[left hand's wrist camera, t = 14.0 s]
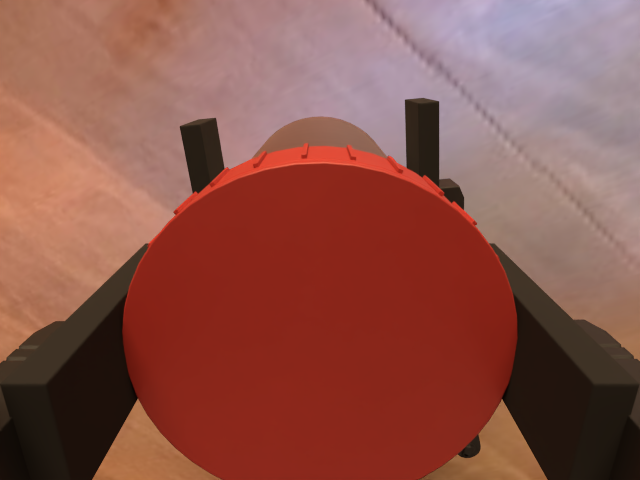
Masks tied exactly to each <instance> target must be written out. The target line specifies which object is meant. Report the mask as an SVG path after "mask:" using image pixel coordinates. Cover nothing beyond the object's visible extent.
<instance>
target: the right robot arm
mask: <svg viewBox="0 0 640 480" xmlns="http://www.w3.org/2000/svg"><path fill="white" fill-rule="evenodd" d="M405 119H406V158H407V169H409V170H411V171H413V172H415V173H416V174H418V175H419V176H421V177H422V178H423V176H424V175H425V176H427V177H428V178H429V179H430V180H431V181H432V182H433V183H434V184H436V185H437V186H438V187H439V188H440V189H441V190H442V191H443V192H444V193H445V194H444V195H443V196H445V197H446V198H447V199H448V200H449V201H450V202H451V203H453V202H455V203H456V204H457V205H459V206H460V207H461V208H462V209H463V210H464V197H463V194H462V192H461V189H460V187H459V186H458V185H457V184H456V183H455V182H453V181H452V180H451V179H440V180H439V101H435V100H430V99H425V98H418V99H407V100H405ZM180 130H181V135H182V140H183V145H184V150H185V156H186V161H187V166H188V171H189V176H190V181H191V186H192V191H193V193H194V192H195V191H196V192H197V193H198V194H199V193H200V192H201V191H202V190H203V189H204V188H205V187H206V186H208V185H209V184H210V183H211V182H212V181H213V180H214V179H215V178H216V177H217V176H218V175H219V174H220V173H221V172H222V171H223V170H224V163H223V157H222V151H221V145H220V139H219V133H218V127H217V121H216V118H210V119H199V120H196V121H193V122H190V123H188V124H185V125H182V126H180ZM479 451H480V441H479V436H478V435H477V436H476V437H475V438H474V439H473V440H472V441H471V442H470V443H469V444H468V445H467V446H466V447H465V448H464V449H463V450H462V451H461V452H460V453H458V455H459V456H461V457H464V458H471V457H473V456H475V455H477V454H478V453H479Z"/></svg>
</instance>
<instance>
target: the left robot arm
mask: <svg viewBox="0 0 640 480" xmlns="http://www.w3.org/2000/svg"><path fill="white" fill-rule="evenodd" d="M147 246H148V244H145V245H144V246H143V247H142V248H141V249H139V250H138V251H137V252H136V253H135V254H134V255H133V256H132V257H131V258H130V259H129V260H128V261H127V262H126V263H125V264H124V265H123V266H122V267H121V268H120V269H119V270H118V271H117V272H116V273H115V274H114V275H113V276H111V277H110V278H109V279H108V280H107V281H106V282H105V283H104V284H103V285H102V286H101V287H100V288H99V289H98V290H97V291H96V292H95V293H94V294H93V295H92V296H91V297H90V298H89V299H88V300H87V301H86V302H84V303H83V304H82V305H81V306H80V307H79V308H78V309H77V310H76V311H75V312H74V313H73V314H72V315H71V316H70V317H69V318H68V319H67V320H66V321H55V322H53V323H52V324H50V325H48V326H46V327H44V328H42V329H41V330H39V331H37V332H35V333H34V334H32V335H31V336H30V337H29V338H28V339H27V340H26V341H25V342H24V343H22V344H21V345H20V346H19V349H16V350H15V351H14V352H12V353H11V354H10V355H9V356H8V357H7V360H6V361H2V362H1V363H0V480H92V479H93V477H94V475H95V473H96V472H97V470H98V468H99V466H100V465H101V463H102V461H103V459H104V457H105V456H106V454H107V452H108V450H109V449H110V447H111V445H112V443H113V441H114V440H115V438H116V436H117V434H118V433H119V431H120V429H121V427H122V426H123V424H124V422H125V420H126V418H127V417H128V415H129V413H130V411H131V410H132V408H133V406H134V404H135V402H136V401H137V399H138V397H137V395H136V393H135V390H134V388H133V385H132V382H131V380H130V377H129V374H128V368H127V363H126V358H125V352H124V345H123V334H122V328H123V316H124V307H125V303H126V298H127V294H128V290H129V286H130V283H131V281H132V279H133V276H134V274H135V271H136V269H137V266H138V264H139V262H140V261H141V259H142V257H143V256H144V254H145V252H146V251H147V249H148V247H147ZM490 246H491V247H492V248H493V250H494V252H495V253H496V254H497V255H498V257H499V259H500V260H499V261H500V263H501V265H502V267H503V268H504V270H505V273H506V276H507V278H508V281H509V284H510V287H511V290H512V292H513V297H514V303H515V308H516V313H517V333H518V339H517V345H516V351H515V357H514V363H513V368H512V373H511V377H510V381H509V384H508V386H507V388H506V390H505V393H504V395H503V397H502V399H503V401H504V403H505V405H506V406H507V408H508V410H509V412H510V414H511V415H512V417H513V419H514V421H515V422H516V424H517V426H518V428H519V429H520V431H521V433H522V435H523V437H524V438H525V440H526V442H527V444H528V445H529V447H530V449H531V451H532V453H533V454H534V456H535V458H536V460H537V461H538V463H539V465H540V467H541V469H542V470H543V472H544V474H545V476H546V477H547V479H548V480H640V361H639V360H637V359H634V356H633V355H632V354H631V353H630V352H628V351H627V350H626V349H625V348H624V347H621V344H620V343H618V342H617V341H616V340H615V339H614V338H613V337H612V336H611V335H609V334H608V333H607V332H606V331H604V330H603V329H601V328H599V327H597V326H595V325H593V324H591V323H589V322H588V321H586V320H573V319H572V318H571V317H570V316H569V315H568V314H567V313H566V312H565V311H564V310H563V309H561V308H560V307H559V306H558V305H557V304H556V303H555V302H554V301H553V300H552V299H551V298H550V297H549V296H548V295H547V294H546V293H545V292H544V291H543V290H542V289H541V288H540V287H539V286H538V285H537V284H536V283H534V282H533V281H532V280H531V279H530V278H529V277H528V276H527V275H526V274H525V273H524V272H523V271H522V270H521V269H520V268H519V267H518V266H517V265H516V264H515V263H514V262H513V261H512V260H511V259H510V258H509V257H508V256H506V255H505V254H504V253H503V252H502V251H501V250H500V249H499V248H498V247H497V246H496V245H495V244H490Z"/></svg>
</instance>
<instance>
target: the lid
mask: <svg viewBox="0 0 640 480" xmlns="http://www.w3.org/2000/svg"><path fill="white" fill-rule="evenodd" d="M444 194H445V193H444V192H443V191H442V190H441V189H440V188H439V187H438V186H437V185H436V184H434V183H433V182H432V181H431V180H430V179H429V178H428V177H427V176H425V175H424V176H423V178H422V177H421V176H419V175H418V174H416V173H415V172H413V171H411V170H409V169H407V168H406V167H404V166H402V165H400V164H398V163H397V162H396V161H395V160H394V159H393V158H392V157H391V156H388V157H387V159H386V158H383V157H381V156H378V155H375V154H373V153H368V152H364V151H359V150H355V149H353V148H352V146H351V145H347V147H346V148H342V147H331V146H311V147H309V145H308V143H304V145H303V147H297V148H291V149H286V150H280V151H275V152H272V153H269V154H267V152H266V151H263V152H262V153H261V154H260V155H259V157H256V158H253V159H251V160H249V161H247V162H245V163H242V164H240V165H238V166H236V167H234V168H232V169H230V170H229V168H228V167H227V168H225V169H224V170H223V171H222V172H221V173H220V174H219V175H218V176H217V177H216V178H215V179H214V180H213V181H212V182H211V183H210V184H209V185H208V186H206V187H205V188H204V189H203V190H202V191H201V192H200V193H199V194H198V193H197V192H196V191H195V192H194V193H193V194H192V195H191V196H190V197H189V198H188V199H187V200H186V201H185V202H183V203H182V204H181V205H180V206H179V207H178V208H177V209H176V210H175V211H174V212H173V213H174V214H176V215H175V216H174V217H173V218H172V219H171V220H170V221H169V222H168V223H167V225H166V226H165V227H164V228H163V229H162V230H161V232H160V233H159V234H158V235H157V236H156V237H155V238H154V239H153V240H152V241H151V242H150V243H149V244H148V246H147V247H148V249H147V251H146V252H145V254H144V256H143V257H142V259H141V261H140V262H139V264H138V266H137V269H136V271H135V274H134V276H133V279H132V281H131V283H130V286H129V290H128V294H127V298H126V303H125V307H124V316H123V328H122V334H123V345H124V352H125V358H126V363H127V368H128V374H129V377H130V380H131V382H132V385H133V388H134V390H135V393H136V395H137V397H138V399H139V401H140V403H141V404H142V406H143V408H144V410H145V412H146V413H147V415H148V416H149V418H150V419H151V420H152V422H153V423H154V424H155V426H156V427H157V429H158V430H159V431H160V432H161V434H162V435H163V436H164V437H165V438H166V439H167V440H168V441H169V442H170V443H171V444H172V445H173V446H174V447H175V448H176V449H177V450H178V451H180V452H181V453H182V454H183V455H185V456H186V457H187V458H188V459H189V460H191V461H192V462H193V463H195V464H196V465H198V466H200V467H201V468H203V469H204V470H206V471H207V472H209V473H210V474H212V475H214V476H216V477H218V478H220V479H222V480H418V479H420V478H422V477H424V476H426V475H428V474H429V473H431V472H433V471H434V470H436V469H438V468H439V467H441V466H443V465H444V464H445V463H447V462H448V461H449V460H451V459H452V458H453V457H454V456H456V455H457V454H458V453H460V452H461V451H462V450H463V449H464V448H465V447H466V446H467V445H468V444H469V443H470V442H471V441H472V440H473V439H474V438H475V437H476V436H477V435H478V434H479V432H480V431H481V430H482V429H483V427H484V426H485V425H486V424H487V422H488V421H489V420H490V418H491V416H492V415H493V413H494V412H495V410H496V408H497V407H498V405H499V403H500V402H501V399H502V397H503V395H504V393H505V390H506V388H507V386H508V384H509V381H510V377H511V373H512V368H513V363H514V357H515V351H516V345H517V339H518V333H517V313H516V308H515V303H514V297H513V292H512V290H511V287H510V284H509V281H508V278H507V276H506V273H505V270H504V268H503V267H502V265H501V263H500V261H499V260H500V259H499V257H498V255H497V254H496V253H495V252H494V250H493V248H492V247H491V246H490V244H489V243H488V242H487V240H486V239H485V238H484V236H483V235H482V234H481V233H480V231H479V230H478V229H477V228H476V227H475V225H477V223H476V222H475V220H473V219H472V218H471V217H470V216H469V215H468V214H467V213H466V212H465V211H464V210H463V209H462V208H461V207H460V206H459V205H457V204H456V203H455V202H453V203H451V202H450V201H449V200H448V199H447V198H446V197H445V196H443V195H444Z"/></svg>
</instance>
